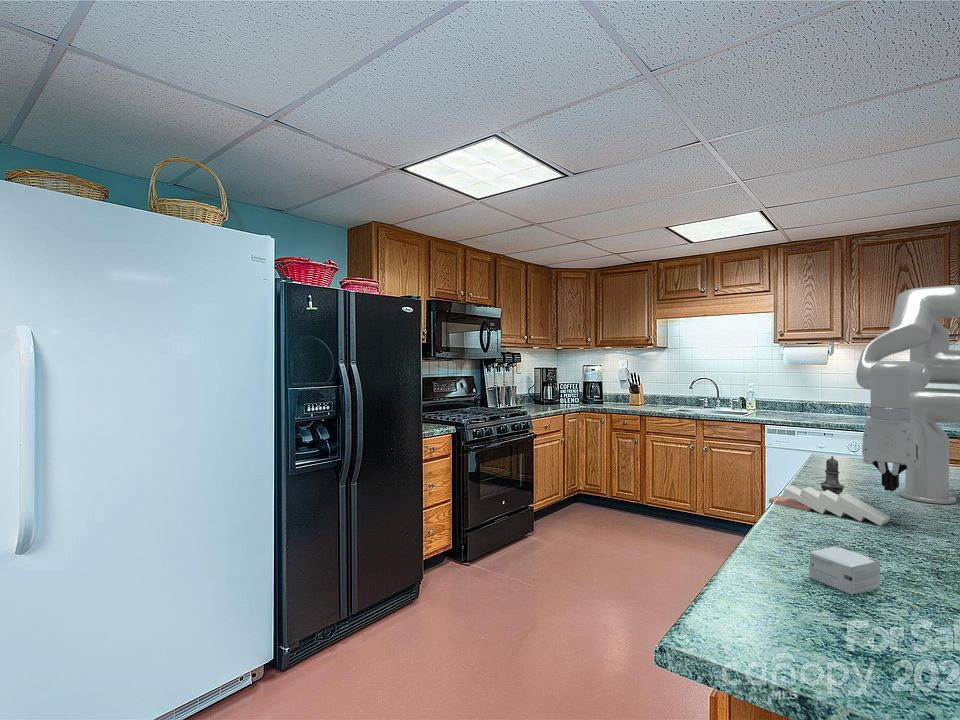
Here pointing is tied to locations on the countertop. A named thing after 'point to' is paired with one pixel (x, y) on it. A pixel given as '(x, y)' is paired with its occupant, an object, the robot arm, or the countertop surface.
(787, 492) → the domino
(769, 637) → the countertop surface
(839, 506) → the domino
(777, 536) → the countertop surface
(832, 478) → the dark grey ornamental finial
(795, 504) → the end domino
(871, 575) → the small box
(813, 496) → the domino
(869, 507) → the domino
